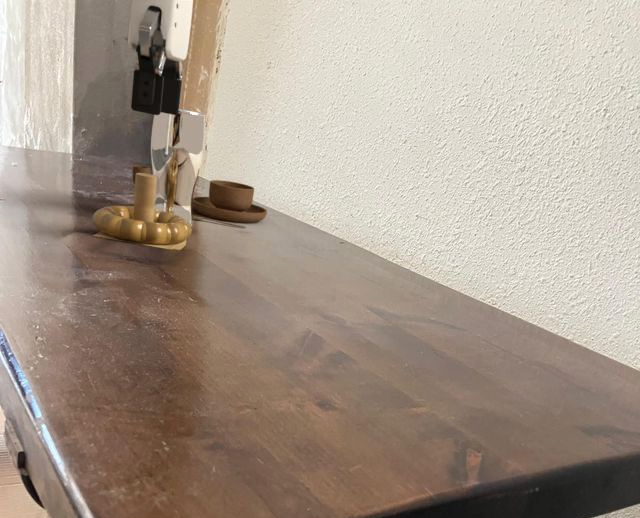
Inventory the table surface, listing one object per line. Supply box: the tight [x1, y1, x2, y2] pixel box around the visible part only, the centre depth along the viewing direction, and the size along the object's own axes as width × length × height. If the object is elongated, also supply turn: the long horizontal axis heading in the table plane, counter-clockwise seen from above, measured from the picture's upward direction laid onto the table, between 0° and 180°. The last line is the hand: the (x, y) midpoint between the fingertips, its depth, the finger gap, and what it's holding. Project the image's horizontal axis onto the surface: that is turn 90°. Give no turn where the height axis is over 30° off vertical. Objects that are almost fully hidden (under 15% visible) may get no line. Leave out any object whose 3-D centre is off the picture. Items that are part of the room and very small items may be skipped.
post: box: [93, 173, 187, 251], centre depth 88 cm, size 9×9×8 cm
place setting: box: [128, 164, 268, 229], centre depth 117 cm, size 18×20×6 cm
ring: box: [92, 205, 193, 245], centre depth 89 cm, size 11×11×2 cm
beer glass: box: [150, 107, 206, 229], centre depth 101 cm, size 7×7×15 cm
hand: (155, 112), depth 87 cm, fingers open, 9 cm apart
